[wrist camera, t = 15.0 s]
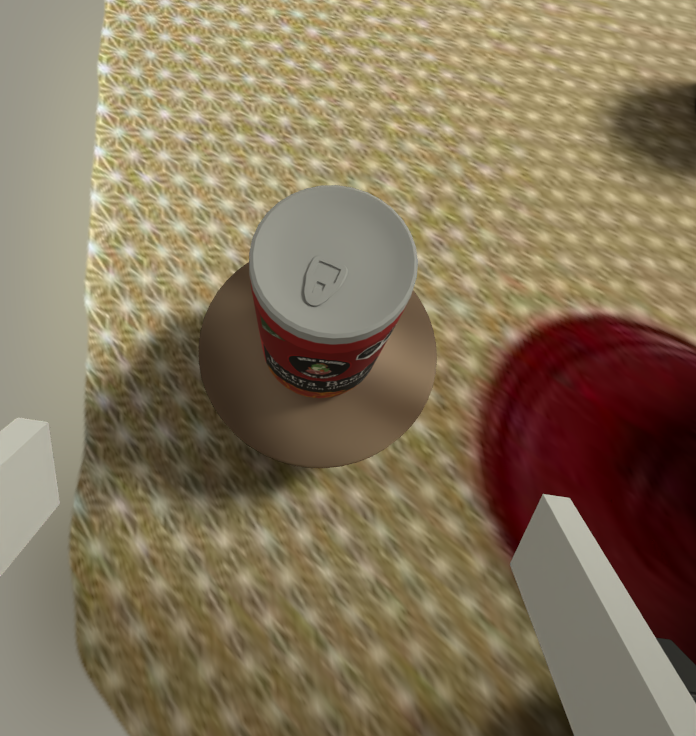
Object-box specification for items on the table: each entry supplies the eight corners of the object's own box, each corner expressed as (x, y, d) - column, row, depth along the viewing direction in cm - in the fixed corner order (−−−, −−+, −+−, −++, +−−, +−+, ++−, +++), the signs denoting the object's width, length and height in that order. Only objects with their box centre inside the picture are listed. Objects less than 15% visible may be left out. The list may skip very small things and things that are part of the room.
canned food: (253, 393, 29) (231, 324, 19) (273, 283, 32) (265, 169, 21) (370, 410, 30) (413, 352, 19) (381, 300, 32) (424, 197, 22)
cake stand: (295, 256, 40) (295, 205, 34) (445, 357, 39) (477, 324, 32) (172, 397, 35) (145, 369, 29) (340, 519, 34) (352, 519, 27)
